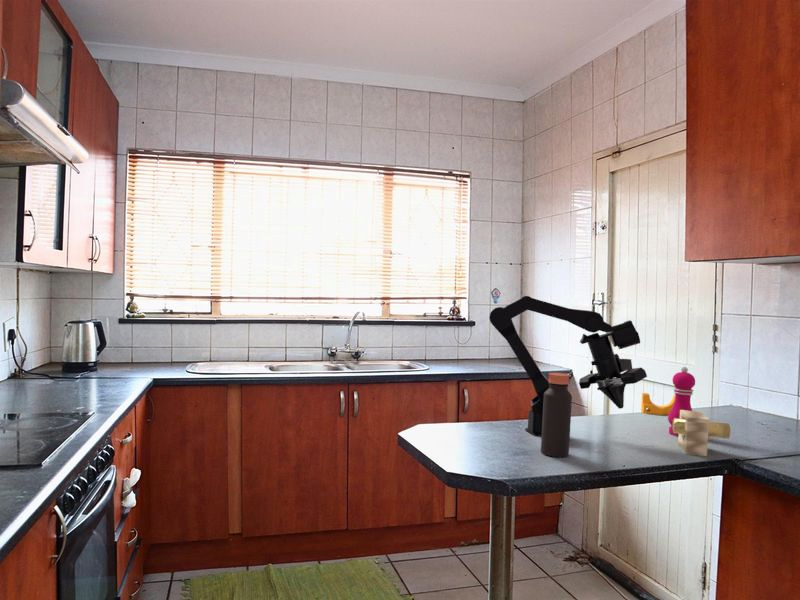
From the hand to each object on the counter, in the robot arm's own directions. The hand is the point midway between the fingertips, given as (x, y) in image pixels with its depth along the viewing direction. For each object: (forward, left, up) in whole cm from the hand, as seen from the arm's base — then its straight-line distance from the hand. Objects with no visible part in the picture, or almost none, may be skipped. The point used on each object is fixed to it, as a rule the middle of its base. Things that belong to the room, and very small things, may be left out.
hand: (621, 408), depth 159 cm
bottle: (-26, -10, -9) cm, 29 cm away
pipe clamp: (+37, +30, -9) cm, 48 cm away
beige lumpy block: (+15, -11, -9) cm, 20 cm away
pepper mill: (+23, +4, -9) cm, 26 cm away
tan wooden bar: (+16, -11, -5) cm, 20 cm away
